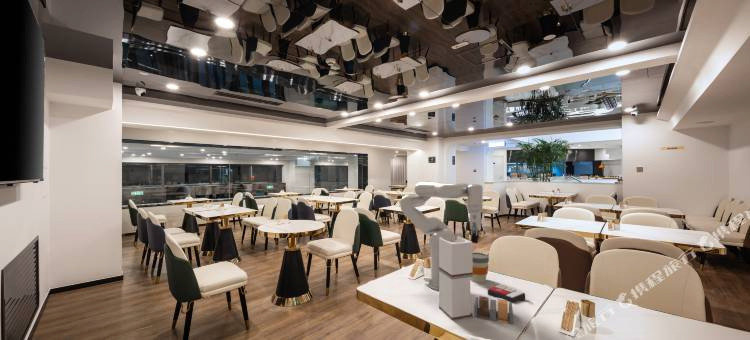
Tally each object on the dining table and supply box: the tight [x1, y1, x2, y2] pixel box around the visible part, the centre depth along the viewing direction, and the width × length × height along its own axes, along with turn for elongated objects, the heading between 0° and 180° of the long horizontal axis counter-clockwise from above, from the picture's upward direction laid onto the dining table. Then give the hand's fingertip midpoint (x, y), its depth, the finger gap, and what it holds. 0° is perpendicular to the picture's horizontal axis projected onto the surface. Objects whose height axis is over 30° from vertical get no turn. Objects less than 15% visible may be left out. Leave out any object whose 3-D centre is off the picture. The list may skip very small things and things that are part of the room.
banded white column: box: [438, 235, 474, 321], centre depth 138 cm, size 11×11×35 cm
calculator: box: [487, 284, 526, 304], centre depth 156 cm, size 11×4×15 cm
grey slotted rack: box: [473, 296, 514, 325], centre depth 135 cm, size 16×10×6 cm, turn 68°
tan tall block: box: [497, 298, 509, 320], centre depth 134 cm, size 4×4×7 cm
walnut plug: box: [478, 295, 490, 316], centre depth 137 cm, size 4×4×7 cm
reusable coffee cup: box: [470, 252, 490, 284], centre depth 179 cm, size 12×13×15 cm
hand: (474, 240), depth 155 cm, fingers open, 9 cm apart
